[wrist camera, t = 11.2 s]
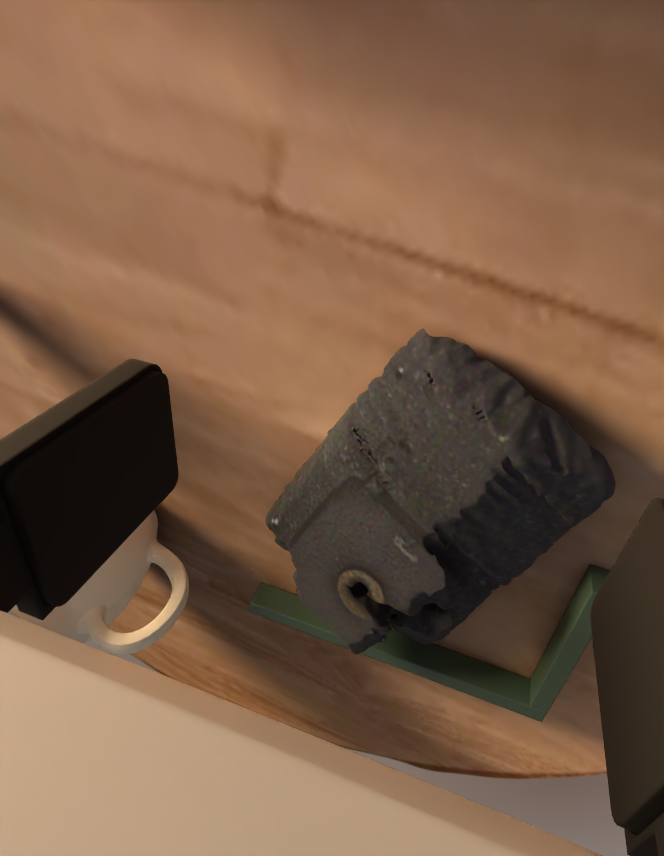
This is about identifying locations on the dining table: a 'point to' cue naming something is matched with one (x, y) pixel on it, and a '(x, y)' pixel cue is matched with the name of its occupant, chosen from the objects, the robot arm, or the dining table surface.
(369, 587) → the dark slate chunk
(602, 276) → the dining table surface
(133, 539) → the pitcher
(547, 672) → the corner stop
